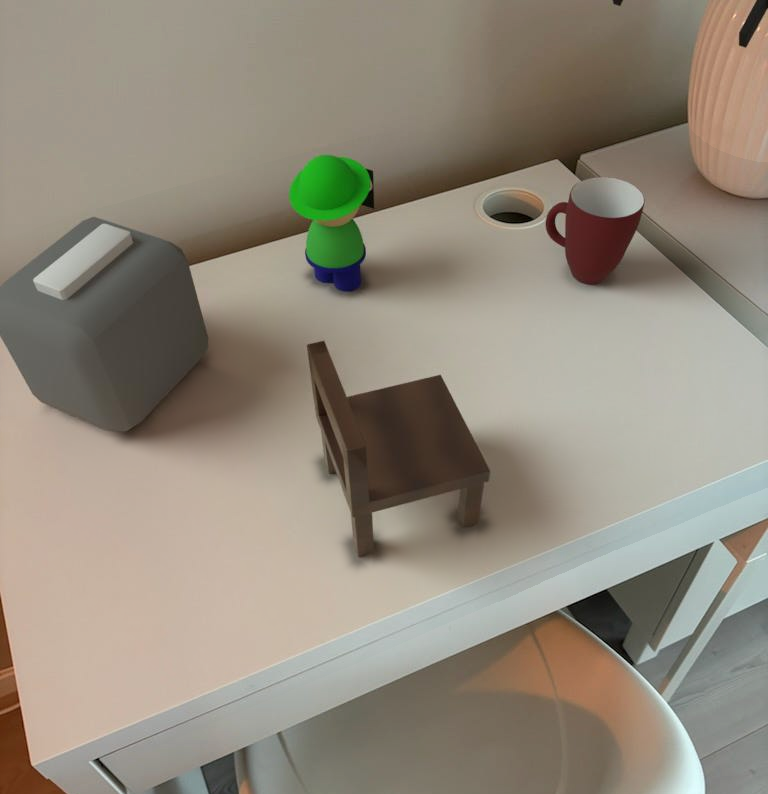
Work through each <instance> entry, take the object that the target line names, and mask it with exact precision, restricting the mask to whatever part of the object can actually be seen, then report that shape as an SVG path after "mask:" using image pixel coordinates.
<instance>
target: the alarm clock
mask: <svg viewBox="0 0 768 794" xmlns="http://www.w3.org/2000/svg"><path fill="white" fill-rule="evenodd" d="M0 338H1V341H2V342H3V344H4V345H5V347H6V349H7V351H8V353H9V355H10V356H11V358H12V360H13V361H14V364H15V365H16V367H17V369H18V371H19V372H20V374H21V376H22V378H23V380H24V381H25V383H26V385H27V386H28V389H29V390H30V392H31V394H32V396H34V398H36V399H37V400H38V401H39V402H40V403H41V404H44V405H47V406H49V407H51V408H54V409H56V410H59V411H61V412H62V413H64V414H65V413H66V414H68V415H70V416H72V417H74V418H77V419H80V420H81V421H84V422H86V423H89V424H91V425H93V426H96V427H98V428H101V429H102V430H105V431H111V432H127V431H129V430H130V429H132V428H134V427H135V426H137V425H139V424H140V423H141V422H142V421H143V420H144V419H145V418H147V416H149V414H150V413H151V412H152V411H153V410H154V409H155V408H156V407H157V406H158V405H159V403H160V402H161V401H162V400H163V399H164V398H165V397H167V395H168V394H169V393H170V392H171V391H172V390H173V389H174V388H175V387H176V386H177V385H178V384H179V382H180V381H182V380H183V378H184V377H185V376H186V375H187V374H188V373H189V372H190V371H191V370H192V369H193V368H194V366H196V365H197V364H198V363H199V361H200V360H201V359H203V358H204V356H205V355H206V353H207V350H208V348H209V335H208V332H207V327H206V324H205V319H204V317H203V312H202V309H201V305H200V302H199V297H198V293H197V291H196V286H195V283H194V279H193V275H192V272H191V267H190V264H189V260H188V258H187V256H186V254H185V253H184V251H183V249H182V248H180V247H179V246H178V245H176V244H175V243H173V242H171V241H168V240H166V239H164V238H161V237H157V236H154V235H151V234H148V233H145V232H142V231H139V230H137V229H133V228H130V227H127V226H124V225H121V224H118V223H114V222H112V221H109V220H106V219H103V218H100V217H96V216H91V217H89V218H85V219H84V220H82V221H81V222H79V223H78V224H77V225H75V226H74V227H73V228H72V229H70V230H69V231H68V232H67V233H65V234H64V235H63V236H61V237H60V238H59V239H57V240H56V241H55V242H54V243H52V244H51V245H50V246H49V247H47V248H46V249H45V250H43V251H42V252H41V253H39V254H38V255H37V256H36V257H34V258H33V259H32V260H31V261H30V262H28V263H26V265H24V266H23V267H22V268H20V269H19V270H18V271H16V272H15V273H14V274H12V275H11V276H10V277H9V278H8V279H6V280H5V281H4V282H3V283H2V284H1V286H0Z"/></svg>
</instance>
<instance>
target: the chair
mask: <svg viewBox="0 0 768 794" xmlns="http://www.w3.org/2000/svg"><path fill="white" fill-rule="evenodd" d="M306 350H307V358H308V365H309V373H310V381H311V388H312V398H313V403H314V404H313V405H314V411H315V417H316V420H317V423H318V426H319V427H320V428H319V429H320V433H321V442H322V450H323V458H324V464H325V467H326V470H327V473H328V474H329V475H330V474H334V473H336V476H337V479H338V481H339V484H340V488H341V491H342V492H343V495H344V498H345V500H346V503H347V506H348V509H349V512H350V520H351V530H352V541H353V542H352V543H353V546H354V549H355V552H356V555H357V557H358V558H360V557H364V556H367V555H371V554H374V553H375V545H374V526H373V525H374V523H373V513H377V512H380V511H383V510H387V509H391V508H394V507H399V506H402V505H405V504H409V503H414V502H417V501H420V500H425V499H429V498H433V497H437V496H439V495H443V494H447V493H452V492H455V491H458V490H459V499H458V508H457V509H458V510H457V518H458V521H459V522H460V525H461V526H462V528H463V529H466V528H468V527H469V528H470V527H473V526H477V525H479V522H480V521H479V520H480V516H481V508H482V502H483V501H482V500H483V494H484V488H485V483H488V482H489V481H490V474H491V469H490V467H489V465H488V463H487V461H486V459H485V458H484V456H483V454H482V452H481V450H480V448H479V446H478V444H477V442H476V440H475V439H474V437H473V435H472V433H471V430H470V429H469V426H468V425H467V423H466V421H465V419H464V417H463V415H462V413H461V411H460V409H459V407H458V406H457V404H456V402H455V400H454V398H453V396H452V394H451V392H450V390H449V388H448V387H447V383H446V382H445V380H444V378H443V376H442V375H441V374H437V375H433V376H428V377H424V378H419V379H417V380H413V381H407V382H402V383H399V384H395V385H391V386H387V387H382V388H379V389H374V390H370V391H366V392H362V393H358V394H353V395H349V396H347V394H346V392H345V391H346V390H345V389H344V387H343V384H342V381H341V378H340V376H339V374H338V372H337V370H336V366H335V365H334V362H333V359H332V357H331V354H330V351H329V349H328V347H327V344H326V342H325V340H320V341H316V342H311V343H307V344H306Z"/></svg>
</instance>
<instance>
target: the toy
mask: <svg viewBox="0 0 768 794" xmlns="http://www.w3.org/2000/svg"><path fill="white" fill-rule="evenodd" d="M374 188H375V186H374V170H372V169H369V168H366V167H365V166H364V165H363V164H362V163H360V161H357V160H355V159H352V158H349V157H345V156H336V155H332V154H321V155H317V156H316V157H314V158H312V159H310V160H309V161H308V162H307V163H306V164H305V165H304V167H303V169H302V170H300V171H299V172H298V173H297V175H296V176H295V177H294V179H293V180H292V182H291V184H290V187H289V193H288V194H289V195H288V197H289V198H288V199H289V202H290V205H291V206H292V208H293V210H294V211H295V212H296V213H297V214H299V215H300V216H301V217H303V218H305V219H308V220H312V221H311V224H310V225H309V228H308V231H307V234H306V241H305V249H304V255H305V260H306V262H307V264H308V265H309V266H311V267H312V268H313V271H314V278H315V279H316V280H317V281H319V282H320V283H325V284H330V283H333V286H334V288H335V289H337V290H338V291H341V292H353V291H356V290H357V289H359V288H360V287H361V285H362V272H361V270H362V269H361V268H362V267H361V264H362V263H363V262H364V261H365V259H366V256H367V247H366V245H365V243H364V240H363V236H362V232H361V230H360V228H359V226H358V224H357V223H356V221H355V220H354V217H355V216H356V215H357V214H358V211H359V210H360V206H363V207H367V208H369V209H373V210H375V189H374Z"/></svg>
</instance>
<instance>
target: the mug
mask: <svg viewBox="0 0 768 794" xmlns="http://www.w3.org/2000/svg"><path fill="white" fill-rule="evenodd" d="M645 201H646V200H645V196H644V194H643V192H642V191H641V190H640V189H639V188H638V187H637V186H635V185H634V184H632V183H631V182H629V181H626V180H622V179H619V178H615V177H610V176H609V177H607V176H597V177H595V176H594V177H589V178H586V179H583V180H581V181H579V182H577V183H576V184H575V185H574V186H573V187H572V188H571V189H570V192H569V196H568V200H567V201H561V202H558V203H556V204H555V205H553V206H552V207H551V208H550V209H549V211H547V215H546V216H545V217H546V218H545V230H546V234H547V235H548V237H549V238H550V239H551V240H552V241H553V242H554V243H556V244H557V245H559V246H561V247H563V248H564V253H565V259H566V262H567V265H568V268H569V270H570V273H571V276H572V277H573V278H574V279H575V280H576V281H577V282H580V283H582V284H585V285H586V284H587V285H595V284H599V283H601V282H603V281H604V280H605V279H607V277H608V276H610V274H612V273H613V272H614V271H615V269H617V267H618V266H619V265H620V263H621V262H622V260H623V258H624V256H625V255H626V252H627V250H628V248H629V246H630V244H631V242H632V240H633V238H634V236H635V234H636V232H637V229H638V227H639V224H640V221H641V219H642V215H643V211H644V207H645ZM559 214H564V215H565V220H564V221H565V222H564V226H565V227H564V228H565V229H564V236H563V235H562V234H561V233H560V232H559V231H558V229H557V226H556V218H557V216H558V215H559Z"/></svg>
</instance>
